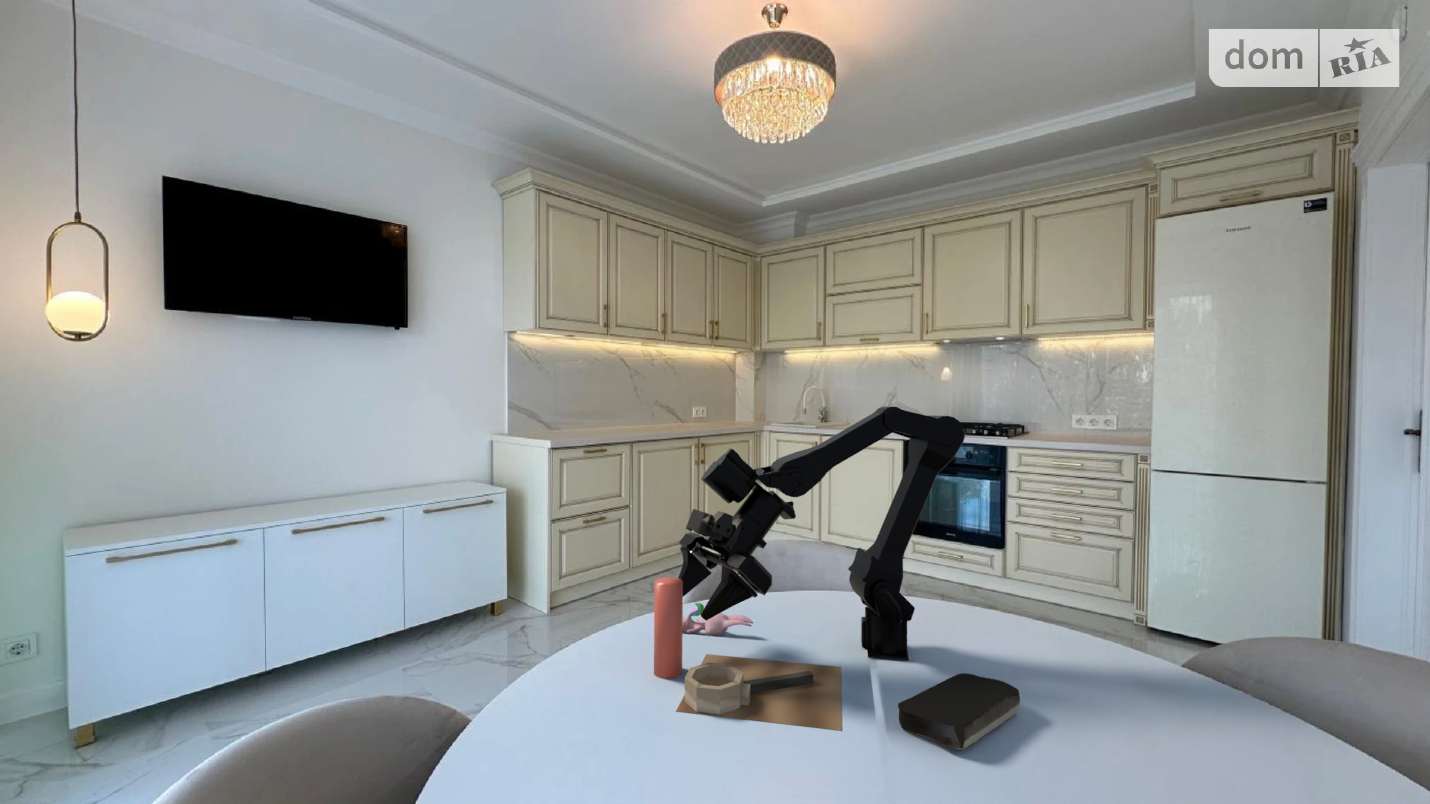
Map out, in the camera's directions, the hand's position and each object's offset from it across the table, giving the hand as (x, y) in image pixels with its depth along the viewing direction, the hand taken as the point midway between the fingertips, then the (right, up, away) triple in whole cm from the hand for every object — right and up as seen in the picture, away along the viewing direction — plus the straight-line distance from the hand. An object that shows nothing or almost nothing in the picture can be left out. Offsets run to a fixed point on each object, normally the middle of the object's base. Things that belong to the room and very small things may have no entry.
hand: (687, 608), depth 83 cm
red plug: (-3, -10, -2) cm, 10 cm away
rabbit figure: (+3, -10, +15) cm, 18 cm away
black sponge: (+34, -10, -12) cm, 38 cm away
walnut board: (+11, -10, -6) cm, 15 cm away
